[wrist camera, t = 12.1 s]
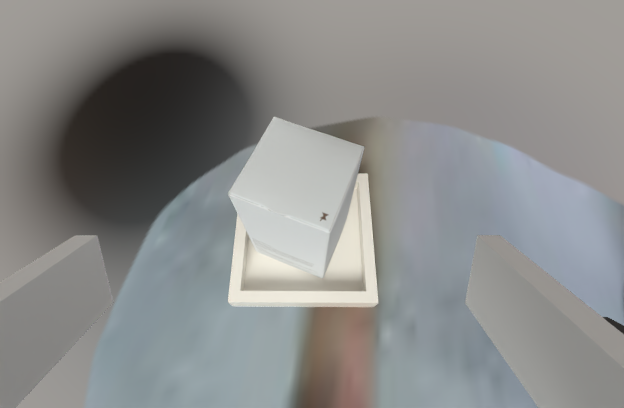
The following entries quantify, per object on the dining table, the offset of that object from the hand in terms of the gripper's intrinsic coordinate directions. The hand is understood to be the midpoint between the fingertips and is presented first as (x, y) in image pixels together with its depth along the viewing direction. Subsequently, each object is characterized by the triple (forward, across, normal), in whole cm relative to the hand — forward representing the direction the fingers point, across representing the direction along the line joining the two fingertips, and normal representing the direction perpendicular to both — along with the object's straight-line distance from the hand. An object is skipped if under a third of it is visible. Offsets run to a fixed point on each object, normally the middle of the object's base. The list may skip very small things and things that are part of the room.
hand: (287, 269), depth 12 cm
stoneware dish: (+27, 0, -12) cm, 30 cm away
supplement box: (+27, 0, -11) cm, 29 cm away
